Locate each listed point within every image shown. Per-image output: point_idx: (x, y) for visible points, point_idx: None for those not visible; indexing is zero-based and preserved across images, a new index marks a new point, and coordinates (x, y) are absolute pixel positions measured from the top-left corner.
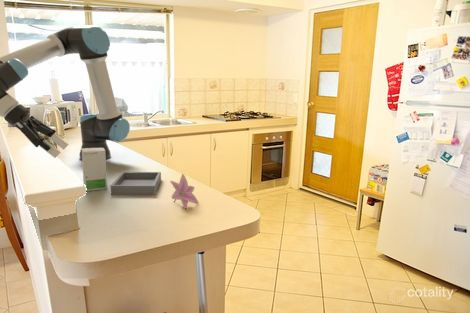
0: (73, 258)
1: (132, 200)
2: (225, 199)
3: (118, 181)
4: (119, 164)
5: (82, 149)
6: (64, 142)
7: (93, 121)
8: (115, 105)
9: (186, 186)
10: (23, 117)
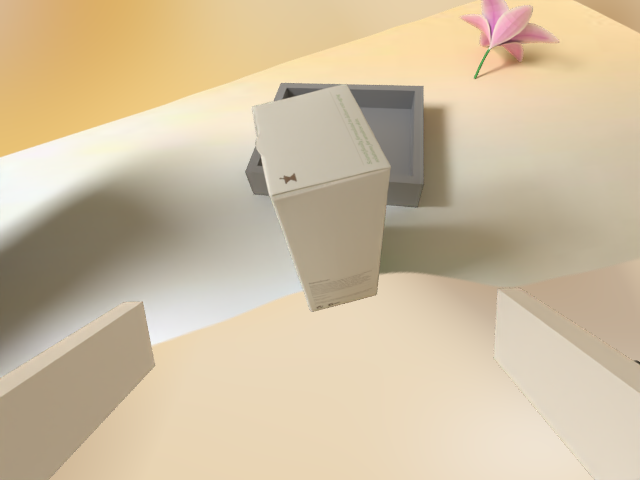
0: None
1: (468, 151)
2: (449, 16)
3: None
4: (31, 227)
5: (310, 183)
6: (113, 329)
7: None
8: None
9: (485, 15)
10: None
